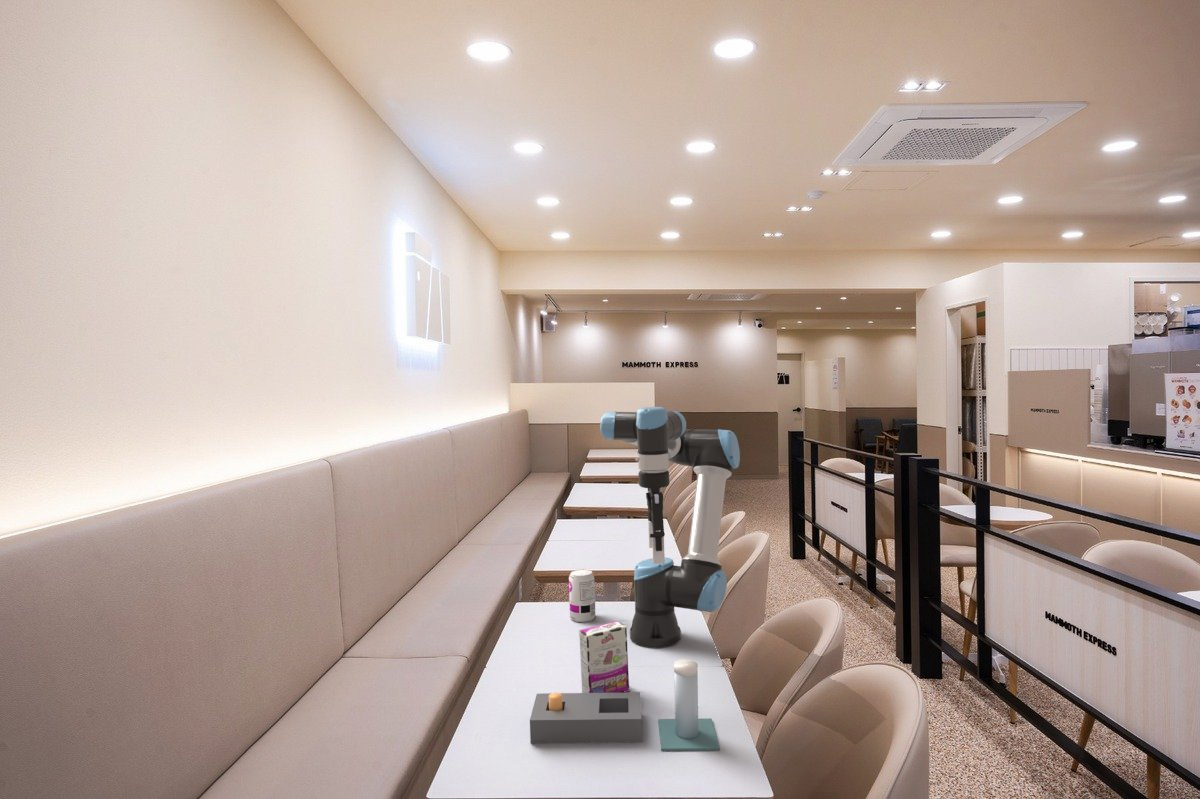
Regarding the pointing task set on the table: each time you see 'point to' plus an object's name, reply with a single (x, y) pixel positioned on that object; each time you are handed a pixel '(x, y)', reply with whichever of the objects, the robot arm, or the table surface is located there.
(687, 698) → the cylinder
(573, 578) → the supplement can
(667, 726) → the mat
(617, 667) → the candy bar box
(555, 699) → the plunger
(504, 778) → the table surface
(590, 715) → the housing
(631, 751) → the table surface
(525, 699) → the table surface
